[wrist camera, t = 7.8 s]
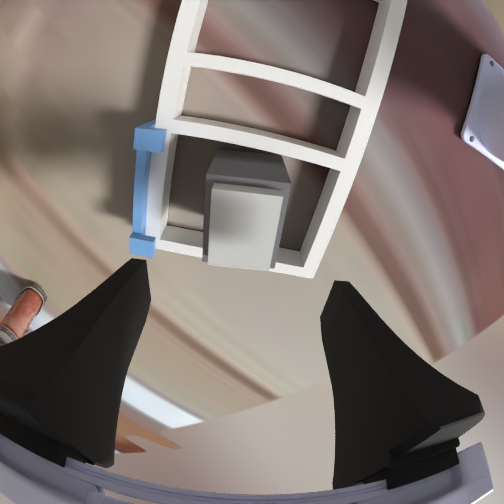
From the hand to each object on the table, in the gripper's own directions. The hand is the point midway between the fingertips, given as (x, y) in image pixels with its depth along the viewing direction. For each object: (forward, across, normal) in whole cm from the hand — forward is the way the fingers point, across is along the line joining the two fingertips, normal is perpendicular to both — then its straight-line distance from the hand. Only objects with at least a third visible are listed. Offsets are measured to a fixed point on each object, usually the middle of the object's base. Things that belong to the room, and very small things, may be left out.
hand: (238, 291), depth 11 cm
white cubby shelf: (+10, 0, -6) cm, 11 cm away
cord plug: (+10, 0, 0) cm, 10 cm away
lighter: (+10, +24, +15) cm, 30 cm away
